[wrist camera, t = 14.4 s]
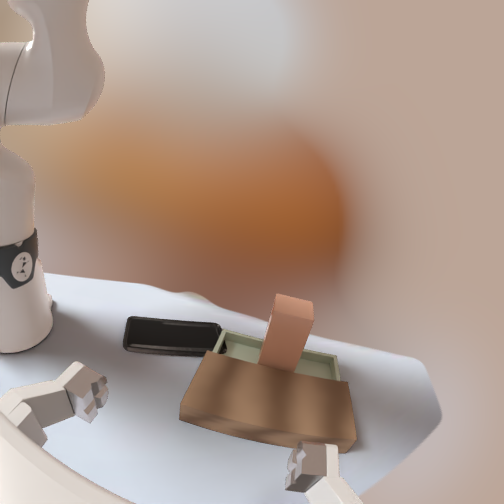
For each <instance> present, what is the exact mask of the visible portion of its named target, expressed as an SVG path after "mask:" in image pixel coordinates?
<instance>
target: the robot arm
mask: <svg viewBox="0 0 504 504" xmlns="http://www.w3.org/2000/svg"><path fill="white" fill-rule="evenodd" d="M7 2H8V4H9V6H10V7H11V9H12V10H13V11H15V12H16V13H17V14H19V15H20V16H22V17H23V18H25V19H26V20H27V21H28V22H29V23H30V24H31V26H32V29H33V40H32V41H30V42H1V43H0V129H1V127H3V126H6V125H53V124H60V123H66V122H72V121H78V120H80V119H82V118H83V117H84V116H86V115H87V114H88V113H89V111H90V110H91V109H92V108H93V107H94V106H95V104H96V102H97V101H98V99H99V97H100V95H101V93H102V90H103V86H104V79H105V71H104V66H103V63H102V60H101V58H100V56H99V55H98V54H97V52H96V51H95V50H94V48H93V46H92V44H91V43H90V40H89V37H88V33H87V29H86V11H87V6H88V2H89V0H7ZM34 196H35V175H34V172H33V170H32V167H31V166H30V165H29V163H28V162H26V161H25V160H24V159H23V158H21V157H20V156H18V155H17V154H15V153H14V152H12V151H10V150H8V149H7V148H5V147H4V146H3V145H2V143H1V141H0V352H2V353H14V352H19V351H23V350H26V349H29V348H31V347H33V346H35V345H37V344H38V343H40V342H41V341H42V340H43V339H44V338H45V337H46V336H47V335H48V334H49V332H50V330H51V328H52V326H53V316H52V313H51V307H52V303H53V301H52V296H51V295H50V294H47V289H46V284H45V279H44V274H43V268H42V263H41V260H40V259H39V258H38V238H37V230H36V229H35V228H34V198H35V197H34ZM106 383H107V380H106V377H105V376H103V375H101V374H99V373H97V372H96V371H94V370H92V369H90V368H88V367H87V366H85V365H83V364H82V363H80V362H78V361H76V362H73V363H72V364H71V365H70V366H69V367H68V368H67V369H66V370H65V371H64V372H63V373H62V374H61V375H60V376H59V377H58V378H57V379H56V380H55V381H53V380H50V381H45V382H41V383H36V384H32V385H27V386H22V387H17V388H12V389H10V390H9V391H8V392H7V393H5V394H4V395H3V396H2V397H1V398H0V504H135V503H133V502H131V501H129V500H127V499H125V498H122V497H120V496H118V495H116V494H114V493H112V492H110V491H108V490H107V489H105V488H103V487H101V486H99V485H97V484H96V483H94V482H92V481H90V480H89V479H87V478H85V477H84V476H82V475H80V474H79V473H77V472H76V471H74V470H72V469H71V468H69V467H68V466H66V465H65V464H63V463H62V462H61V461H59V460H58V459H56V458H55V457H53V456H52V455H51V454H49V453H48V452H47V451H45V450H44V449H43V448H42V446H43V445H44V444H45V442H46V441H47V440H48V439H47V436H46V434H45V432H44V431H43V429H42V428H45V427H47V426H50V425H52V424H55V423H58V422H60V421H63V420H65V419H68V418H70V417H73V416H75V415H76V416H78V417H80V418H81V419H83V420H85V421H87V422H88V423H91V422H92V421H93V419H94V418H95V417H96V415H97V414H98V412H97V409H98V408H102V407H103V406H104V405H105V403H106V401H107V399H108V394H109V392H108V388H107V387H106V385H105V384H106ZM287 469H288V471H289V472H290V473H289V475H288V476H287V477H286V483H285V490H288V491H296V492H304V494H305V496H306V498H307V499H308V501H309V503H310V504H364V503H363V502H362V501H361V500H360V498H359V497H358V496H357V495H356V494H355V492H354V491H353V490H352V489H351V487H350V486H349V485H348V483H347V482H346V481H345V480H344V478H342V477H340V474H339V456H338V447H337V445H333V444H324V443H316V442H308V441H300V442H299V443H298V444H297V449H294V450H293V451H292V452H291V454H290V457H289V459H288V464H287Z"/></svg>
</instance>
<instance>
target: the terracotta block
mask: <svg viewBox="0 0 504 504" xmlns="http://www.w3.org/2000/svg"><path fill="white" fill-rule="evenodd" d="M313 322H314V313H313V303H312V302H310V301H305V300H301V299H297V298H293V297H289V296H285V295H281V294H276V298H275V301H274V305H273V308H272V312H271V315H270V319H269V322H268V326H267V329H266V332H265V336H264V339H263V343H262V346H261V349H260V353H259V358H258V362H257V364H259V365H263V366H267V367H271V368H276V369H280V370H285V371H289V372H294V371H295V369H296V366H297V364H298V361H299V359H300V356H301V354H302V351H303V349H304V346H305V344H306V341H307V338H308V336H309V333H310V330H311V328H312V325H313Z"/></svg>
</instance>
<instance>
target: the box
mask: <svg viewBox="0 0 504 504" xmlns="http://www.w3.org/2000/svg"><path fill="white" fill-rule="evenodd" d="M224 340H225V343H226V346H227V352H226V353H224V354H222V355H225V356H229V357H232V358H236V359H240V360H243V361H247V362H251V363H255V364H257V362H258V358H259V353H260V349H261V346H262V343H263V339H259V338H255V337H251V336H248V335H244V334H240V333H236V332H233V331H229V330H226V329H223V330H222V332H221V335H220V337H219V339H218V341H217V343H216V345H215V347H214V350H213V352H215V353H219V351H220V349H221V346H222V344H223V341H224ZM294 373H299V374H304V375H309V376H314V377H320V378H325V379H331V380H337V381H341V380H340V373H339V367H338V361H337V356H336V355H331V354H326V353H321V352H316V351H311V350H306V349H303V351H302V354H301V356H300V359H299V361H298V364H297V366H296V369H295V371H294Z"/></svg>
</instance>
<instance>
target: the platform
mask: <svg viewBox="0 0 504 504" xmlns="http://www.w3.org/2000/svg"><path fill="white" fill-rule="evenodd" d="M179 420H182V421H185V422H188V423H191V424H194V425H197V426H200V427H203V428H207V429H210V430H213V431H217V432H220V433H224V434H228V435H232V436H235V437H240V438H244V439H248V440H252V441H257V442H262V443H267V444H272V445H278V446H283V447H290V448H296V449H297V444H298V443H299V442H300V441H308V442H316V443H324V444H333V445H337V447H338V453H346V452H347V451H348V450H349V449H350V447H351V446H352V445H353V444H354V443H355V442H356V440H357V436H356V429H355V422H354V416H353V410H352V403H351V397H350V392H349V386H348V382H343V381H337V380H331V379H325V378H320V377H314V376H309V375H304V374H299V373H294V372H289V371H285V370H280V369H276V368H271V367H267V366H263V365H259V364H255V363H251V362H247V361H243V360H240V359H236V358H232V357H229V356H225V355H222V354H218V353H215V352H211V351H208V350H207V352H206V354H205V356H204V358H203V360H202V362H201V364H200V366H199V368H198V370H197V372H196V374H195V376H194V378H193V380H192V382H191V384H190V386H189V388H188V390H187V392H186V394H185V396H184V398H183V400H182V402H181V404H180V417H179Z"/></svg>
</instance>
